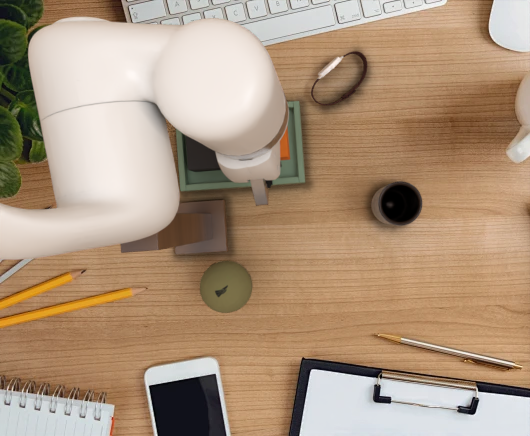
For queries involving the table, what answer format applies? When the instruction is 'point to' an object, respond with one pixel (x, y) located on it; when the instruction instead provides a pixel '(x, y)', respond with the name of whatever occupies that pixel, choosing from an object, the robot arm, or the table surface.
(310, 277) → the table surface
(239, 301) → the green pear
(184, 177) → the holder
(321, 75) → the watch
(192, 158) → the pad
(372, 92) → the table surface
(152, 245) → the stand
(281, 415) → the table surface
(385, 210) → the planter
